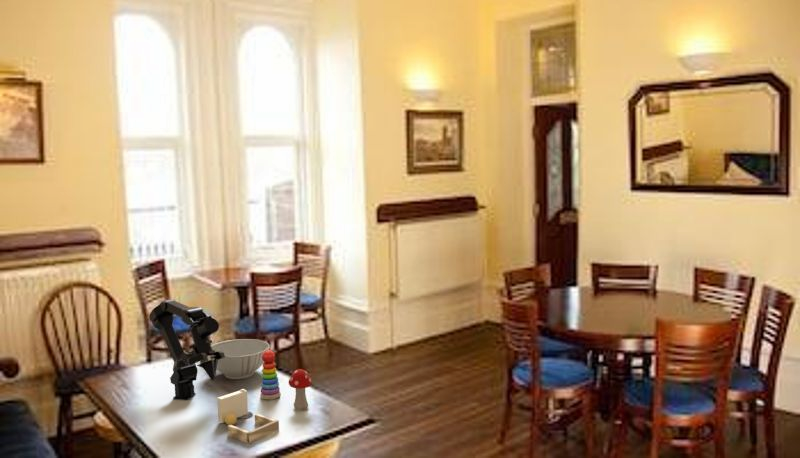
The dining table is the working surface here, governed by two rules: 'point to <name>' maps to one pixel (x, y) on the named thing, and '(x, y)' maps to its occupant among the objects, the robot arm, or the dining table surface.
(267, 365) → the stacking toy
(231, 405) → the lever
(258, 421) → the tray
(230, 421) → the ball
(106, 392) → the dining table surface
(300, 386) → the decorative mushroom
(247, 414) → the pivot plate
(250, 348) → the decorative bowl
